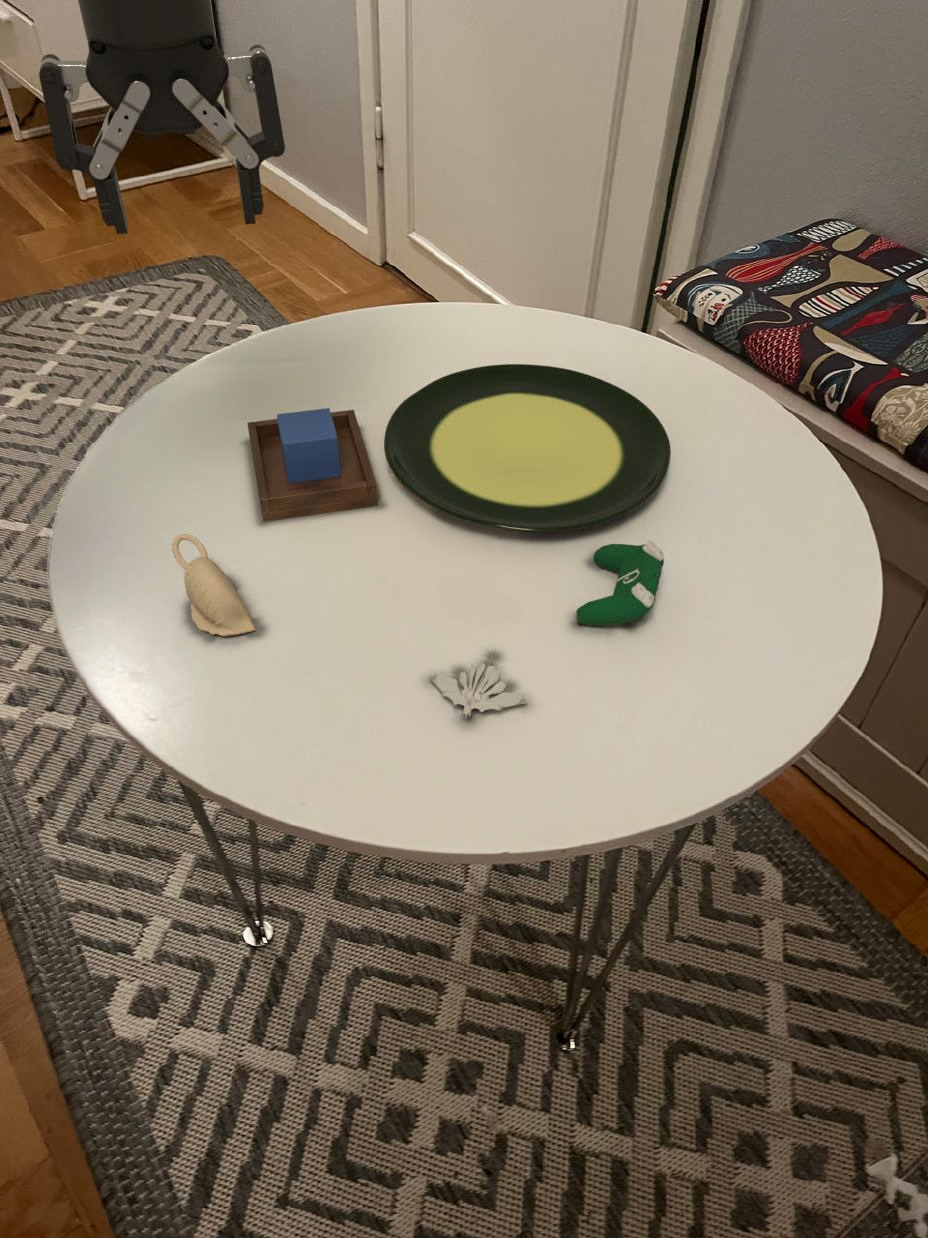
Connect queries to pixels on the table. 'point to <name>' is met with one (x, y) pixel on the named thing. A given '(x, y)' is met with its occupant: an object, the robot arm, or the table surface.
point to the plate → (527, 448)
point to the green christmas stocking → (625, 584)
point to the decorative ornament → (212, 594)
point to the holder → (318, 494)
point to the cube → (309, 445)
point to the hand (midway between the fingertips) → (187, 224)
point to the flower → (477, 690)
